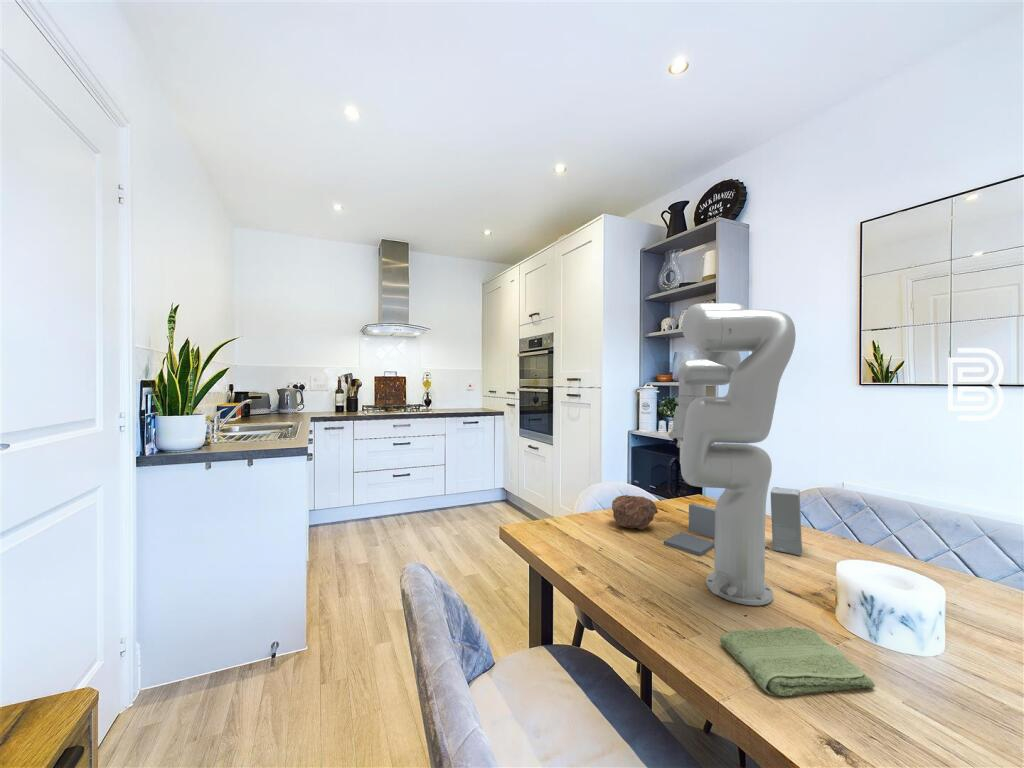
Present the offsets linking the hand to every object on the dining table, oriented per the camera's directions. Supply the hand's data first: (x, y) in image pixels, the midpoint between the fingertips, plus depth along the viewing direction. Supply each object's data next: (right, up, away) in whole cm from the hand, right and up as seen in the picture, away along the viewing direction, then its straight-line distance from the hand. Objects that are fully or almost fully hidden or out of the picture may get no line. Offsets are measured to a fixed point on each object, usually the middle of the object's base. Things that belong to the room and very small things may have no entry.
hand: (691, 460), depth 124 cm
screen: (+3, -21, -6) cm, 22 cm away
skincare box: (+20, -21, -14) cm, 32 cm away
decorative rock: (-17, -21, +2) cm, 27 cm away
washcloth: (-10, -22, -59) cm, 64 cm away
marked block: (0, -1, 0) cm, 1 cm away
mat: (-6, -21, -12) cm, 25 cm away
